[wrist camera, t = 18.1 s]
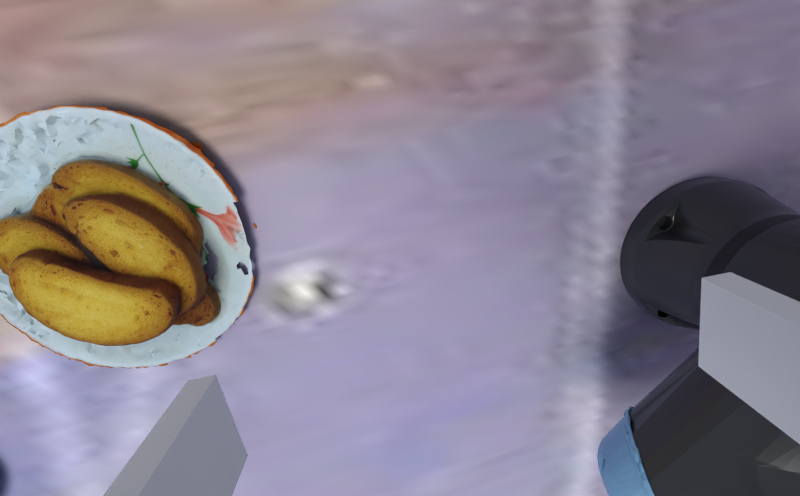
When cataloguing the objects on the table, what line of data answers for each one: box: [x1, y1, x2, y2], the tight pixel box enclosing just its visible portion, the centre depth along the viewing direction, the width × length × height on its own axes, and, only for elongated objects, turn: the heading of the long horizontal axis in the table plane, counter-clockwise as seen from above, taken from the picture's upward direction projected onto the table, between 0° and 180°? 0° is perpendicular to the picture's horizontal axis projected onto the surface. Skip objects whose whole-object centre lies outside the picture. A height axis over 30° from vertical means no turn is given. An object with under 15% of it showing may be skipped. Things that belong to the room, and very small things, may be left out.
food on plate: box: [0, 105, 257, 368], centre depth 36 cm, size 25×25×7 cm
